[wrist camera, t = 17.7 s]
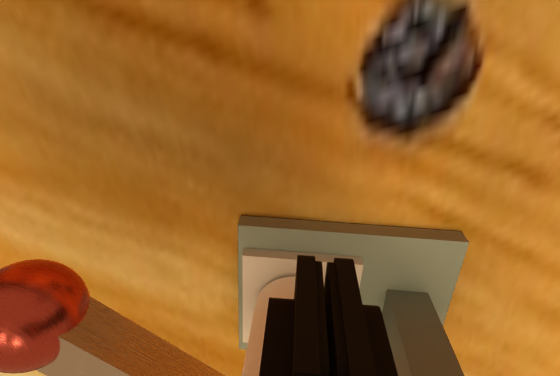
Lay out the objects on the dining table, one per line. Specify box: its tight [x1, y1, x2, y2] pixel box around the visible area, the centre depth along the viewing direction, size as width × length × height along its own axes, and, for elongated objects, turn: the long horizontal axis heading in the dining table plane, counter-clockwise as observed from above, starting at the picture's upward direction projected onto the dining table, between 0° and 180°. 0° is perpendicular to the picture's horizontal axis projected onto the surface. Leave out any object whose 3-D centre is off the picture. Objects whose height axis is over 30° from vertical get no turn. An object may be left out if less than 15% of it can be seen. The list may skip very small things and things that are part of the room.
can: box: [242, 276, 296, 376], centre depth 23 cm, size 6×6×12 cm
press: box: [238, 215, 469, 376], centre depth 24 cm, size 17×13×16 cm
